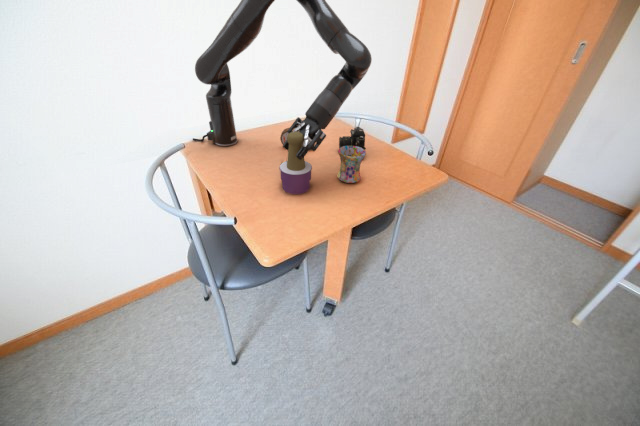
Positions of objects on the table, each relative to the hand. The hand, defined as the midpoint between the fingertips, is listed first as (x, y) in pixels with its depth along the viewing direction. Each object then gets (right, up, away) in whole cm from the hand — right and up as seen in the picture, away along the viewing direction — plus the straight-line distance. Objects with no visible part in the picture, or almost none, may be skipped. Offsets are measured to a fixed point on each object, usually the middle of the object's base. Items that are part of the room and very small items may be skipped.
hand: (291, 153), depth 83 cm
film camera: (+22, +8, +33) cm, 40 cm away
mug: (+19, -5, +15) cm, 25 cm away
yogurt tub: (+1, -10, +8) cm, 13 cm away
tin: (-1, +9, +33) cm, 35 cm away
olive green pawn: (+1, -4, +4) cm, 5 cm away
